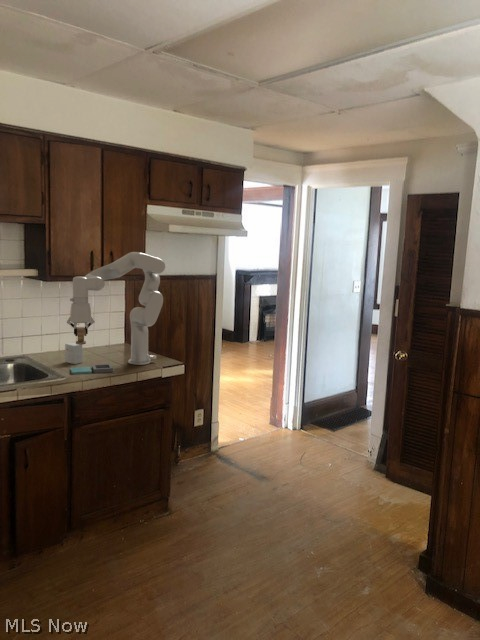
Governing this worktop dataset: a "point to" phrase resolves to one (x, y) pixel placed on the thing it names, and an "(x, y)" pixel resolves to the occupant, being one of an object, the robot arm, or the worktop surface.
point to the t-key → (81, 335)
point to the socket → (102, 368)
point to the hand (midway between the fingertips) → (80, 335)
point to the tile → (80, 370)
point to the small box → (73, 353)
